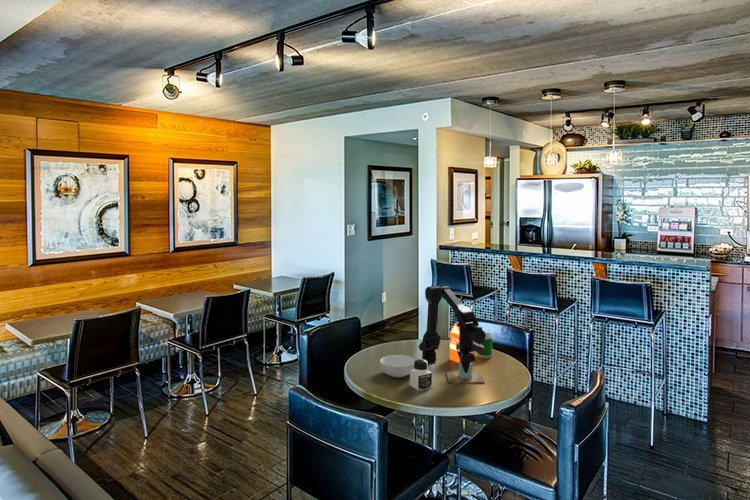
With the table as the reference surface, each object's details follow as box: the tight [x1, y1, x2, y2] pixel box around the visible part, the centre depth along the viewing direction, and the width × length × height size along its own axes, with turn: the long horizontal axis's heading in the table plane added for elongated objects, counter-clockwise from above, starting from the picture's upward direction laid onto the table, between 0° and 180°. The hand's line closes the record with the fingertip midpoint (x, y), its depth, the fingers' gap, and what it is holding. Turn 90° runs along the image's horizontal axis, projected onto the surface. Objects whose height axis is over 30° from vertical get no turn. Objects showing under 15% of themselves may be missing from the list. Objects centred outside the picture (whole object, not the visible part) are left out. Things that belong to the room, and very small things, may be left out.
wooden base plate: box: [445, 371, 486, 385], centre depth 230 cm, size 16×12×7 cm
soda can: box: [476, 332, 493, 359], centre depth 261 cm, size 8×8×12 cm
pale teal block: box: [458, 361, 473, 379], centre depth 230 cm, size 5×5×7 cm
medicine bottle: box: [409, 358, 433, 392], centre depth 220 cm, size 7×7×12 cm
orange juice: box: [449, 321, 474, 364], centre depth 256 cm, size 8×9×20 cm
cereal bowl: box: [379, 354, 416, 379], centre depth 236 cm, size 17×17×7 cm
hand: (465, 370), depth 230 cm, fingers open, 6 cm apart
